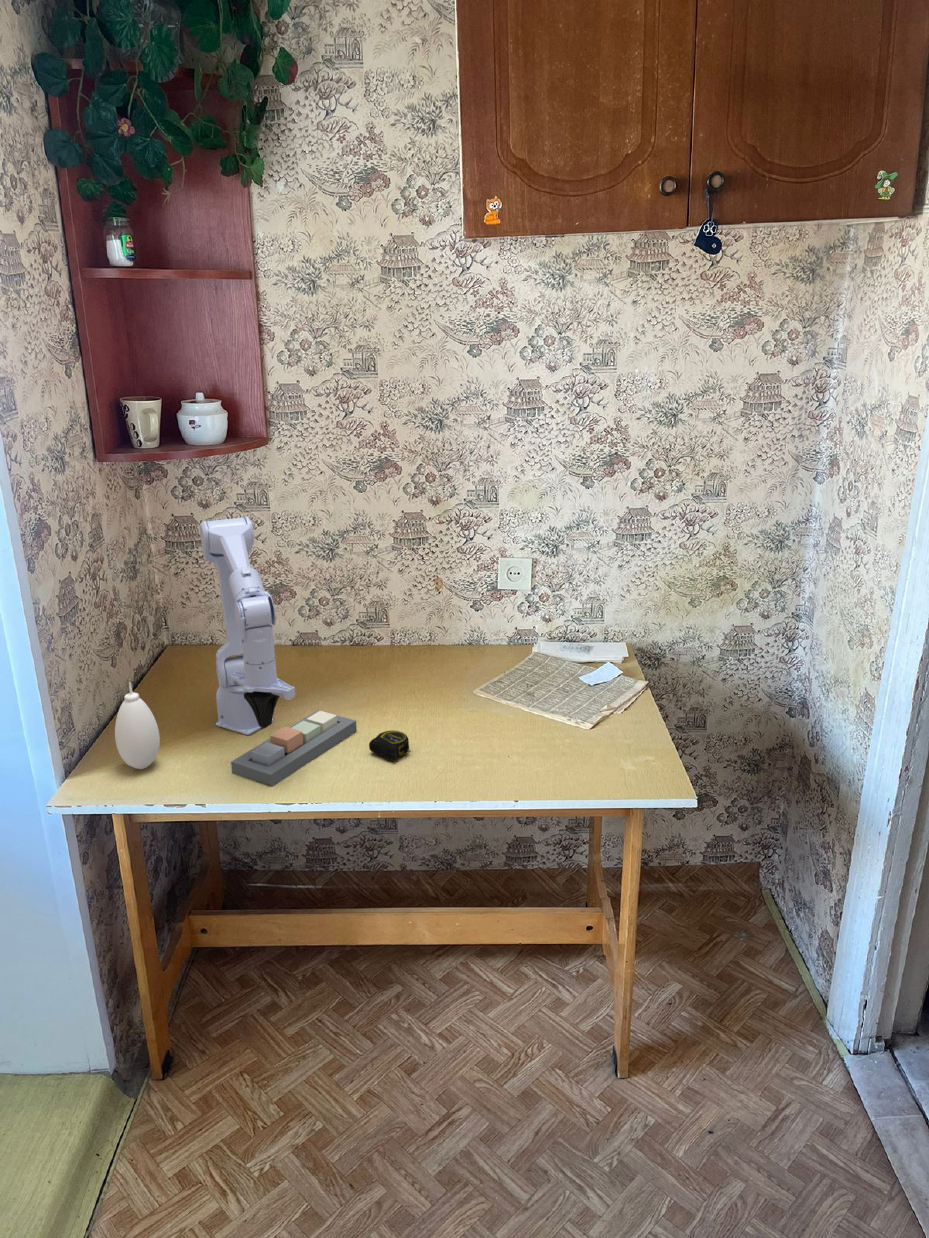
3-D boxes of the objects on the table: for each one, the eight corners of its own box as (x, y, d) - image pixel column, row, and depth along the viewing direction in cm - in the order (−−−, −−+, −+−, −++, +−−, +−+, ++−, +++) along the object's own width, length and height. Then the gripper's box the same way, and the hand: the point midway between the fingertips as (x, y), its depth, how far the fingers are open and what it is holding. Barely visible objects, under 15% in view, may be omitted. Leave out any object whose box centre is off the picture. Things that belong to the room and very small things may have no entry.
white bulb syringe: (147, 753, 188) (136, 670, 182) (170, 765, 183) (159, 680, 177) (112, 768, 182) (99, 683, 176) (135, 781, 178) (122, 694, 172)
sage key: (289, 741, 189) (288, 729, 188) (304, 732, 193) (303, 720, 192) (306, 746, 187) (305, 734, 186) (320, 737, 191) (320, 725, 190)
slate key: (252, 764, 181) (251, 751, 180) (267, 754, 184) (266, 742, 183) (269, 770, 178) (268, 757, 177) (285, 760, 182) (284, 747, 181)
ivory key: (307, 731, 194) (306, 718, 193) (320, 722, 197) (320, 710, 196) (324, 736, 191) (323, 723, 190) (337, 727, 195) (336, 715, 194)
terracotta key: (271, 748, 185) (269, 735, 184) (286, 739, 188) (285, 726, 187) (288, 753, 182) (287, 740, 181) (303, 744, 186) (302, 731, 185)
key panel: (232, 773, 180) (230, 761, 179) (319, 720, 201) (318, 710, 200) (271, 786, 175) (270, 774, 174) (356, 731, 196) (356, 720, 195)
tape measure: (367, 755, 187) (366, 738, 186) (391, 742, 192) (391, 725, 190) (392, 765, 183) (391, 748, 181) (416, 752, 188) (416, 735, 186)
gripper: (214, 658, 174) (222, 724, 179) (274, 674, 167) (280, 742, 172) (241, 646, 180) (248, 710, 185) (300, 661, 173) (305, 727, 177)
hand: (265, 725), depth 179 cm, fingers closed
